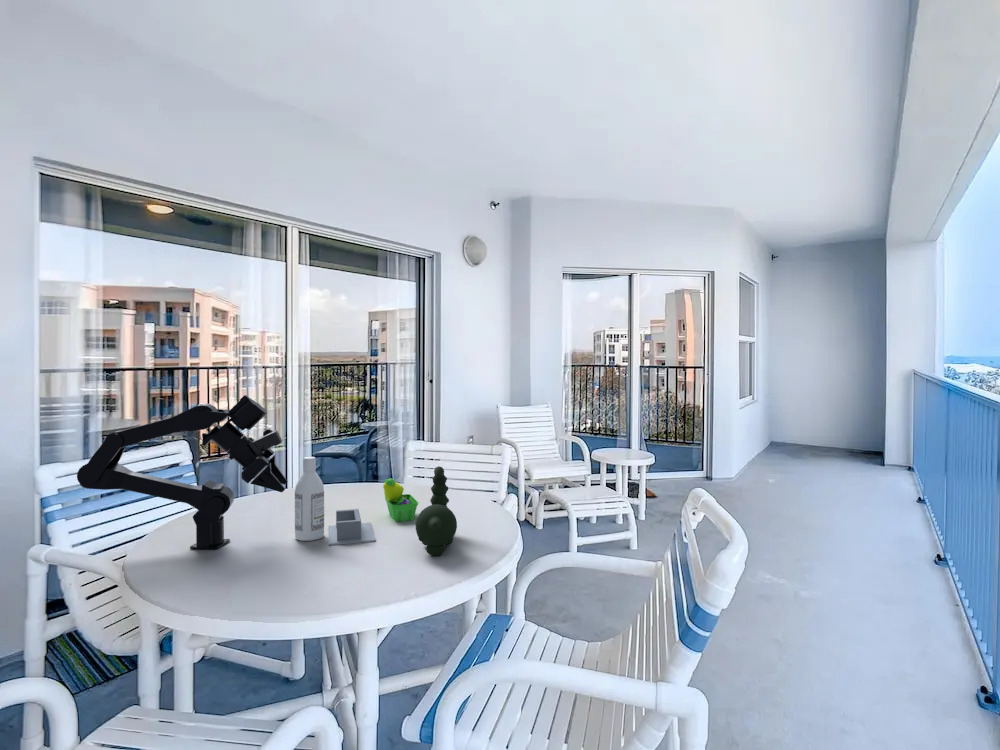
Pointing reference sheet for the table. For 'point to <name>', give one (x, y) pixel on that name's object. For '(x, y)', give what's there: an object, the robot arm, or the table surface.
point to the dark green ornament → (437, 518)
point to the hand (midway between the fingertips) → (284, 486)
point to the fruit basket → (399, 501)
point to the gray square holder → (349, 529)
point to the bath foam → (309, 503)
